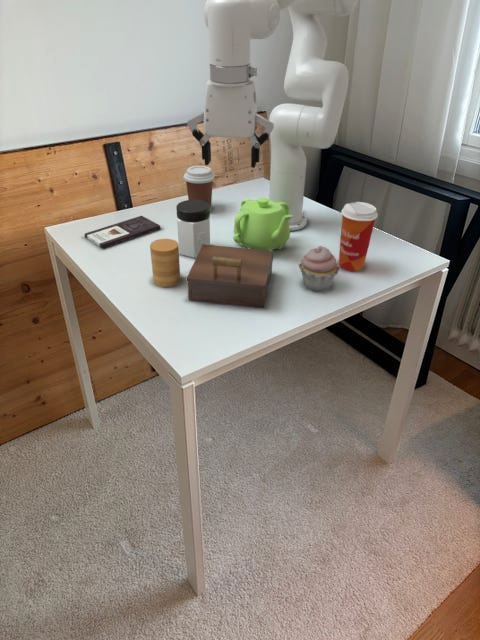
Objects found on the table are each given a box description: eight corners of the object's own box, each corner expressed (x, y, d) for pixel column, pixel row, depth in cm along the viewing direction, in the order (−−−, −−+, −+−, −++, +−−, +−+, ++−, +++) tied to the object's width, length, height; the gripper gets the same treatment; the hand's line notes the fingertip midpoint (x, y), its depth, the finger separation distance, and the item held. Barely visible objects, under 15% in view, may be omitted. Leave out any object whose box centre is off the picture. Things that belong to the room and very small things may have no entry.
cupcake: (289, 278, 118) (292, 239, 113) (324, 272, 121) (329, 233, 115) (307, 298, 111) (312, 258, 106) (344, 291, 114) (351, 251, 108)
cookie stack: (160, 271, 120) (157, 236, 115) (184, 276, 118) (182, 241, 113) (148, 284, 115) (144, 248, 110) (173, 289, 114) (170, 253, 108)
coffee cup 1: (206, 201, 156) (205, 162, 149) (221, 211, 150) (220, 171, 143) (180, 206, 152) (177, 167, 146) (193, 217, 146) (191, 176, 139)
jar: (187, 261, 125) (184, 215, 118) (171, 248, 130) (168, 203, 123) (218, 252, 129) (217, 207, 122) (202, 240, 134) (200, 196, 127)
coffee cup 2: (327, 261, 126) (335, 203, 117) (355, 255, 128) (364, 198, 120) (346, 276, 119) (355, 217, 111) (375, 270, 122) (386, 212, 114)
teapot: (299, 238, 136) (303, 193, 129) (288, 262, 125) (292, 214, 118) (241, 230, 139) (242, 186, 132) (226, 253, 128) (226, 206, 121)
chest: (264, 308, 108) (265, 287, 105) (188, 300, 110) (187, 279, 107) (271, 273, 120) (273, 253, 117) (203, 267, 122) (203, 247, 119)
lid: (264, 289, 104) (266, 266, 101) (186, 281, 106) (185, 259, 103) (273, 253, 117) (274, 232, 114) (202, 247, 119) (202, 226, 116)
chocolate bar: (160, 225, 139) (102, 245, 129) (160, 228, 139) (102, 248, 129) (141, 215, 144) (84, 233, 134) (141, 218, 145) (85, 236, 134)
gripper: (277, 71, 97) (274, 160, 107) (189, 68, 99) (193, 156, 109) (274, 80, 91) (270, 173, 101) (179, 76, 93) (185, 168, 103)
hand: (230, 164), depth 105 cm, fingers open, 9 cm apart
